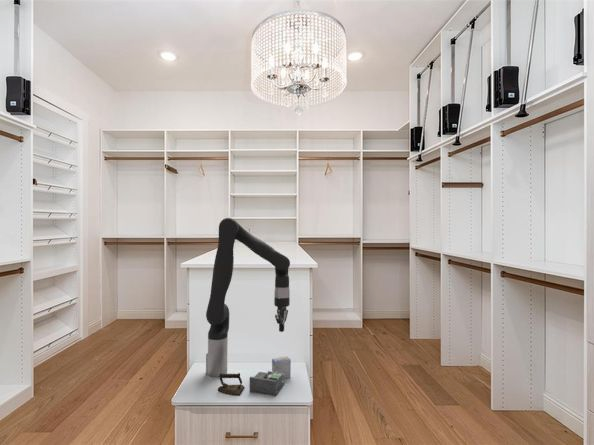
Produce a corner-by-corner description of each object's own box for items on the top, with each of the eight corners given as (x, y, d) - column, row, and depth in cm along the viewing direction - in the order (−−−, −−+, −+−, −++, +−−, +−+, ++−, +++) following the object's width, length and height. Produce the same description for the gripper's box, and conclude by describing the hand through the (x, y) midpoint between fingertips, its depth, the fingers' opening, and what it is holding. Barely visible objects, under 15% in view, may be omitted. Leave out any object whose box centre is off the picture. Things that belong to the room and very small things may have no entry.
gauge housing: (249, 391, 142) (249, 377, 142) (260, 381, 153) (260, 367, 153) (275, 396, 139) (275, 381, 139) (284, 384, 149) (284, 371, 149)
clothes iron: (241, 397, 139) (235, 374, 138) (216, 401, 140) (210, 379, 140) (246, 387, 146) (240, 366, 145) (222, 392, 147) (216, 370, 147)
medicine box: (287, 374, 160) (287, 355, 161) (290, 377, 156) (290, 359, 157) (271, 377, 157) (271, 358, 157) (275, 381, 153) (275, 361, 153)
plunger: (260, 387, 144) (260, 376, 144) (268, 378, 152) (268, 368, 152) (276, 389, 142) (276, 378, 142) (283, 381, 150) (283, 370, 150)
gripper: (279, 293, 173) (279, 327, 172) (269, 297, 160) (269, 334, 160) (293, 294, 170) (293, 328, 170) (284, 299, 158) (284, 336, 157)
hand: (281, 331), depth 165 cm, fingers closed
